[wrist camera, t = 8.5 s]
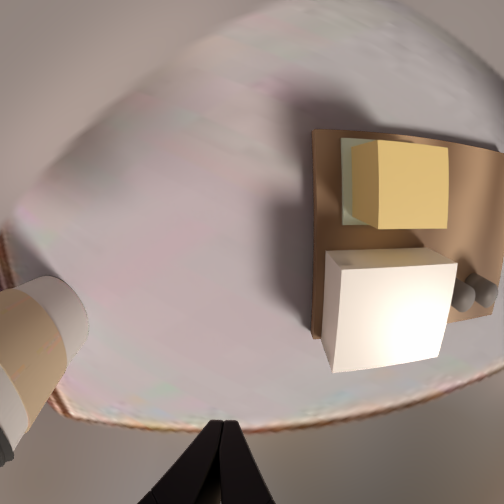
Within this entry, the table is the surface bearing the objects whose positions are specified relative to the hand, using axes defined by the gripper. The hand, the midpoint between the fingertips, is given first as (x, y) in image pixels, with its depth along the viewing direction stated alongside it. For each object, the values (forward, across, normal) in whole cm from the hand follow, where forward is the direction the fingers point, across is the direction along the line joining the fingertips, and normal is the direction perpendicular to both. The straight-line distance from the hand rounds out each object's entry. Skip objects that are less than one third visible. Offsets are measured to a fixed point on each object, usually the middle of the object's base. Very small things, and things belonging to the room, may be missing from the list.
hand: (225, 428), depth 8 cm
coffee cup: (+12, +15, +2) cm, 20 cm away
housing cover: (+10, -8, 0) cm, 13 cm away
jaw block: (+10, -9, -7) cm, 15 cm away
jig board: (+11, -12, -3) cm, 17 cm away
